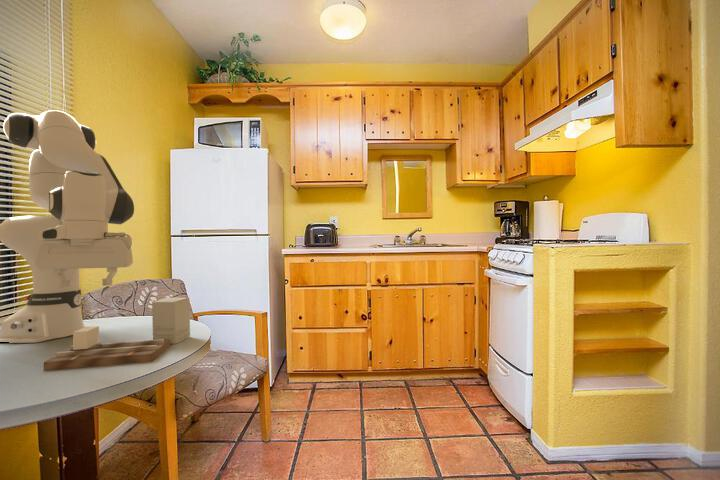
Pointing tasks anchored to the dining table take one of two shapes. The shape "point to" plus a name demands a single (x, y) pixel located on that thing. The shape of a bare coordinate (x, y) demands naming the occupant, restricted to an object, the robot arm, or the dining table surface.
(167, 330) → the supplement box
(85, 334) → the beige cube
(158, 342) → the brown striped wooden board
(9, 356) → the dining table surface
